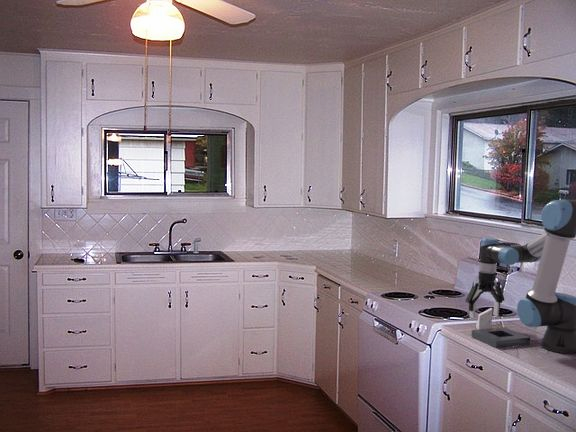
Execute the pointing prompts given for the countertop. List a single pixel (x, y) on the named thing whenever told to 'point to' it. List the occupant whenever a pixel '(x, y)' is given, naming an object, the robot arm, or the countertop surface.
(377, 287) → the countertop surface
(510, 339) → the grey square frame
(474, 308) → the robot arm
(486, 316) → the white wedge bracket
